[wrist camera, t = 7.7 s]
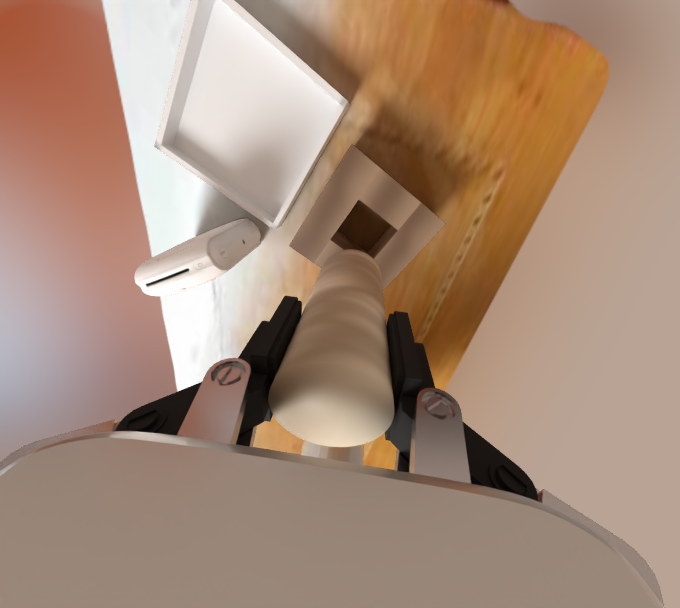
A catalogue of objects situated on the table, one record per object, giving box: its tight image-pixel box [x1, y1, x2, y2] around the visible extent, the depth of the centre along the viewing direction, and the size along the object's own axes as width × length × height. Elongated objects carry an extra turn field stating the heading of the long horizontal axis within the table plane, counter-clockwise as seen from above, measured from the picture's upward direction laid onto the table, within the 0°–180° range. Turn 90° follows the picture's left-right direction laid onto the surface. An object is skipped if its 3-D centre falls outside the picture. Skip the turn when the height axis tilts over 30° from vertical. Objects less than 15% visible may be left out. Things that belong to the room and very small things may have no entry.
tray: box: [154, 0, 350, 230], centre depth 27 cm, size 15×15×2 cm
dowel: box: [268, 249, 394, 447], centre depth 12 cm, size 4×4×10 cm
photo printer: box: [135, 218, 261, 296], centre depth 30 cm, size 10×4×12 cm, turn 111°
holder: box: [289, 144, 446, 290], centre depth 30 cm, size 12×12×5 cm
